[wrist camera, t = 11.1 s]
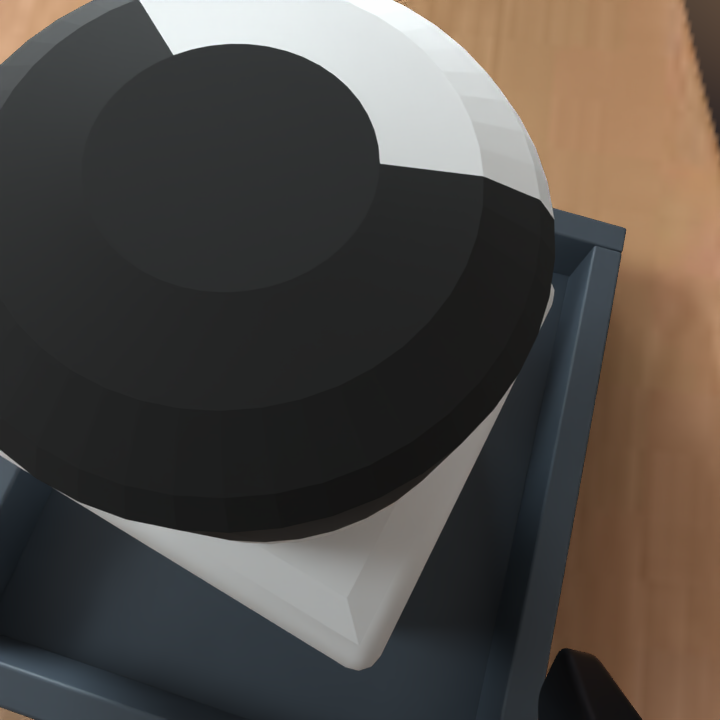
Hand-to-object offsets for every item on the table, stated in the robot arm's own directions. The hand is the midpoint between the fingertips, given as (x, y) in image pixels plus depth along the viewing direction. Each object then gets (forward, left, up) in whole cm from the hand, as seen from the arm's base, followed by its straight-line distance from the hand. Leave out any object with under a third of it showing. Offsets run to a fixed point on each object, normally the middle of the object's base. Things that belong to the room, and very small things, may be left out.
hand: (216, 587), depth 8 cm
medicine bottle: (+4, 0, -8) cm, 9 cm away
